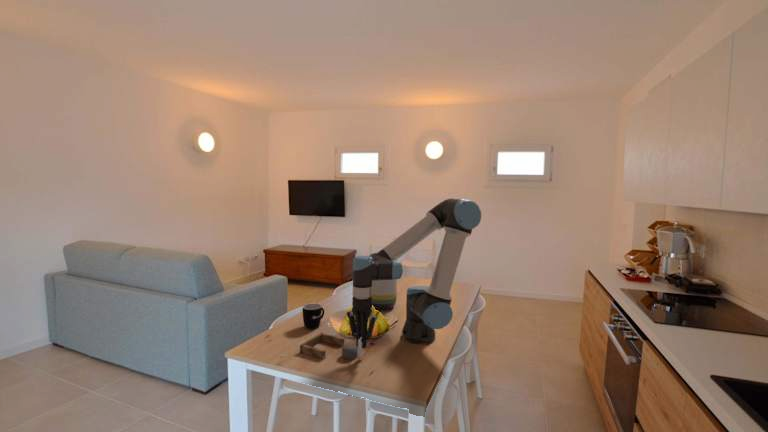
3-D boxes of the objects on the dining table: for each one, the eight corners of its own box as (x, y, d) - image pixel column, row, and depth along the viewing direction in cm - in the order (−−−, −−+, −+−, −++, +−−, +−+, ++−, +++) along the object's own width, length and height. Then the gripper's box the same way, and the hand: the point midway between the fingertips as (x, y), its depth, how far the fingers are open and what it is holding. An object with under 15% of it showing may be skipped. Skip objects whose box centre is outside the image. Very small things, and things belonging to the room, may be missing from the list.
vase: (391, 313, 192) (392, 269, 190) (361, 309, 197) (362, 266, 195) (400, 303, 208) (401, 263, 206) (372, 300, 213) (373, 260, 211)
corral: (344, 345, 152) (344, 338, 152) (323, 359, 140) (323, 351, 139) (321, 339, 158) (321, 332, 158) (300, 352, 145) (300, 345, 145)
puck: (360, 355, 144) (360, 346, 144) (351, 361, 139) (352, 352, 138) (347, 351, 147) (347, 343, 146) (339, 357, 141) (339, 349, 141)
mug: (311, 332, 165) (311, 310, 164) (298, 327, 171) (298, 306, 170) (330, 324, 175) (330, 304, 174) (317, 320, 180) (317, 300, 179)
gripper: (381, 296, 139) (380, 355, 140) (353, 291, 144) (352, 347, 146) (372, 301, 132) (371, 363, 134) (342, 296, 138) (341, 355, 140)
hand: (361, 355), depth 140 cm, fingers closed
